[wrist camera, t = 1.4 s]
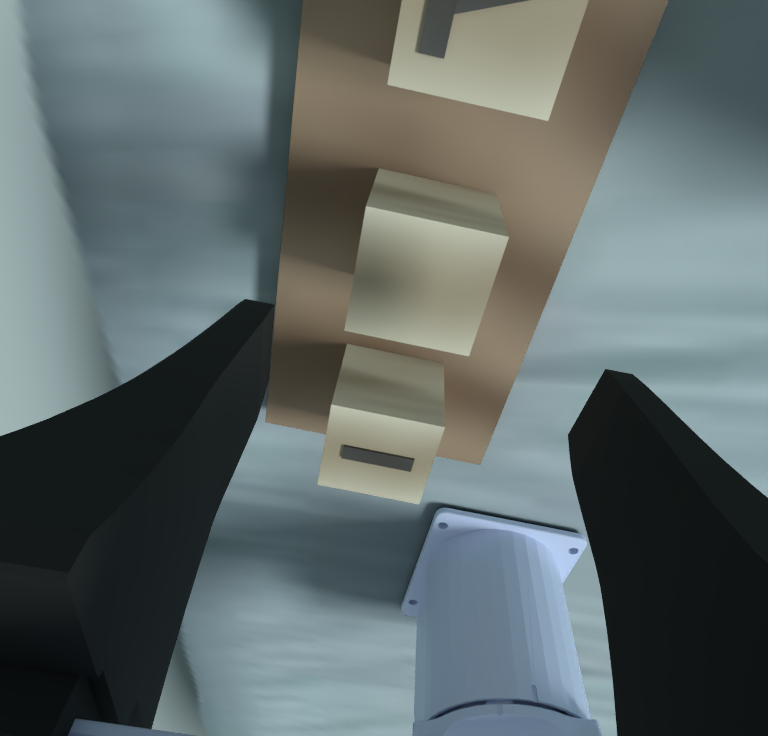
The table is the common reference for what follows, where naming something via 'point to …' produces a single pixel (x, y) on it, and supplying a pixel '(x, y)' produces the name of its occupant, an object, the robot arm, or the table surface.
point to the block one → (384, 424)
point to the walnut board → (444, 164)
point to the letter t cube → (487, 51)
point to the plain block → (425, 262)
